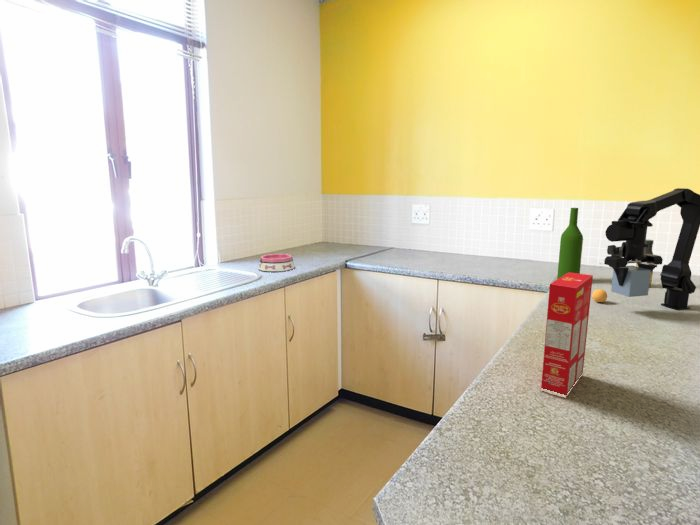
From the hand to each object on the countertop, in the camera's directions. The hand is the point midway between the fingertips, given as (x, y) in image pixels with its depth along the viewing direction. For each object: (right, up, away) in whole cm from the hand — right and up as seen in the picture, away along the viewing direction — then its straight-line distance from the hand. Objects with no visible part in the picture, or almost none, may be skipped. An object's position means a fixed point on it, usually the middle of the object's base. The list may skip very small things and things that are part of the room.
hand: (630, 284), depth 158 cm
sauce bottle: (+28, -3, +38) cm, 47 cm away
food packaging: (-47, -21, -50) cm, 72 cm away
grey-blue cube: (0, -3, +1) cm, 3 cm away
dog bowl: (-134, +4, +77) cm, 155 cm away
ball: (-3, -5, +14) cm, 15 cm away
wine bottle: (+1, -1, +48) cm, 48 cm away
